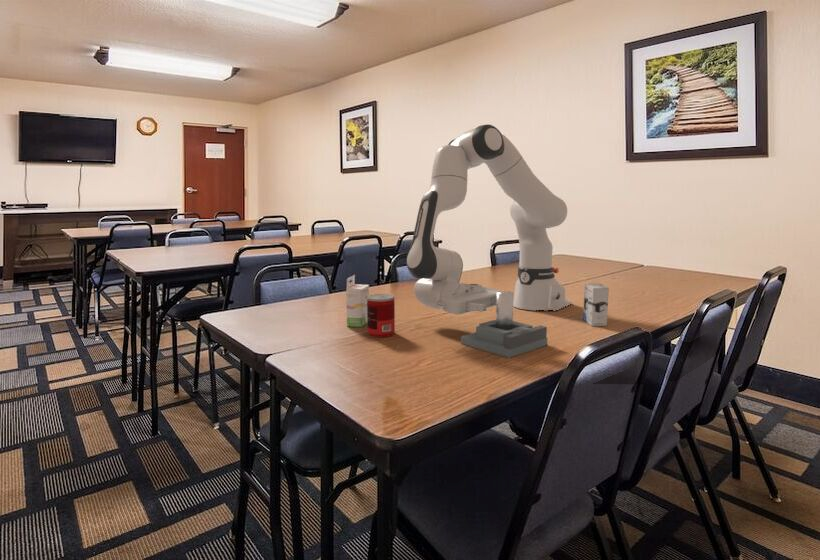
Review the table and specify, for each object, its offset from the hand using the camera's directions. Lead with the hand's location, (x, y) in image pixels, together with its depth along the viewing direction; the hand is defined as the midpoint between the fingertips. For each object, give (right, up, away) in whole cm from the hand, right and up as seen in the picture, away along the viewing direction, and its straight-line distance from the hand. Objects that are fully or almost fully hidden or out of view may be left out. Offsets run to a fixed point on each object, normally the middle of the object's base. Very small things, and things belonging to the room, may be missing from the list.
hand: (496, 305), depth 137 cm
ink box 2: (+34, -7, +21) cm, 41 cm away
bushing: (+2, -8, -1) cm, 9 cm away
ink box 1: (-39, -7, +22) cm, 45 cm away
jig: (+2, -10, -1) cm, 10 cm away
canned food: (-31, -9, +10) cm, 34 cm away
